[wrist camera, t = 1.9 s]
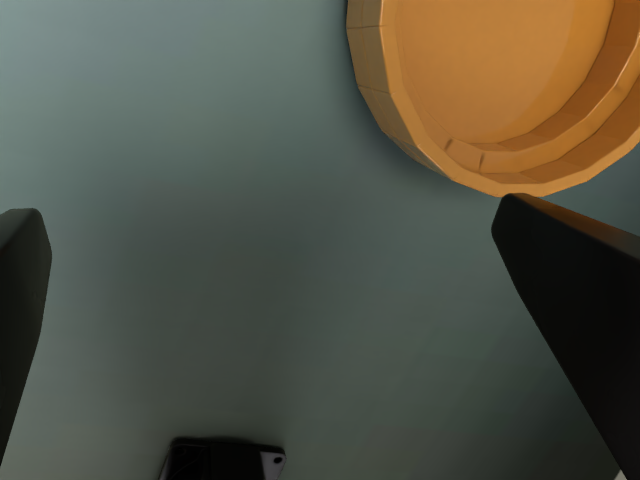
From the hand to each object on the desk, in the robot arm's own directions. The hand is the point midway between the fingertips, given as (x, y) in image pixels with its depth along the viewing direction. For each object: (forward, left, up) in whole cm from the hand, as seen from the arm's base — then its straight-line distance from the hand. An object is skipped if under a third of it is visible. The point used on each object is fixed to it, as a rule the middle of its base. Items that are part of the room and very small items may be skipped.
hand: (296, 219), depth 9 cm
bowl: (+8, -9, -12) cm, 17 cm away
